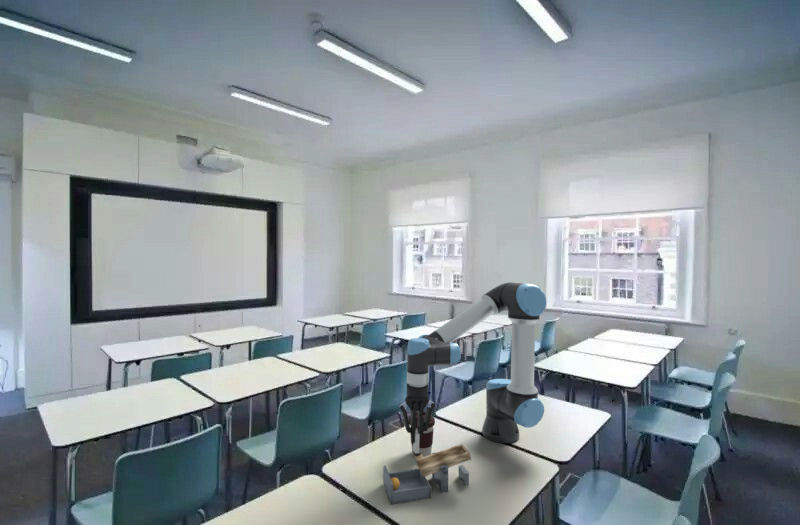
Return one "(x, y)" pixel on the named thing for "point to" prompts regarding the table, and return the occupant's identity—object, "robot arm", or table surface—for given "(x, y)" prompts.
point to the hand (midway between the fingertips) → (416, 451)
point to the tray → (406, 486)
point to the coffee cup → (425, 437)
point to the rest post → (463, 475)
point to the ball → (395, 483)
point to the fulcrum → (441, 478)
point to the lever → (441, 459)
